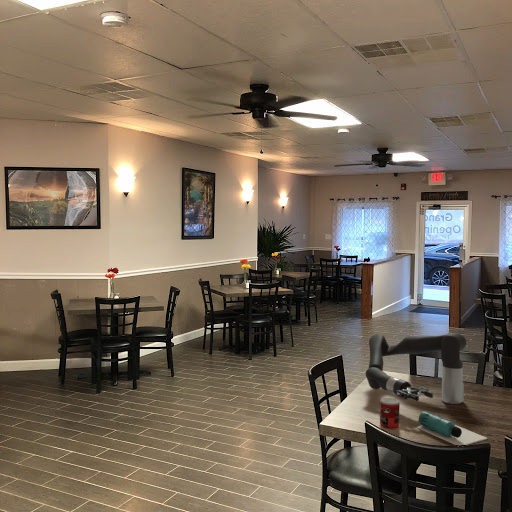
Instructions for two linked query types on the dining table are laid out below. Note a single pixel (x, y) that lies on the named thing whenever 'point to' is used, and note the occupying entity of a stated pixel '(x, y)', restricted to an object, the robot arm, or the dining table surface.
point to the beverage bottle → (439, 425)
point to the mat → (464, 439)
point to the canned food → (389, 413)
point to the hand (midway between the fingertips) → (425, 397)
